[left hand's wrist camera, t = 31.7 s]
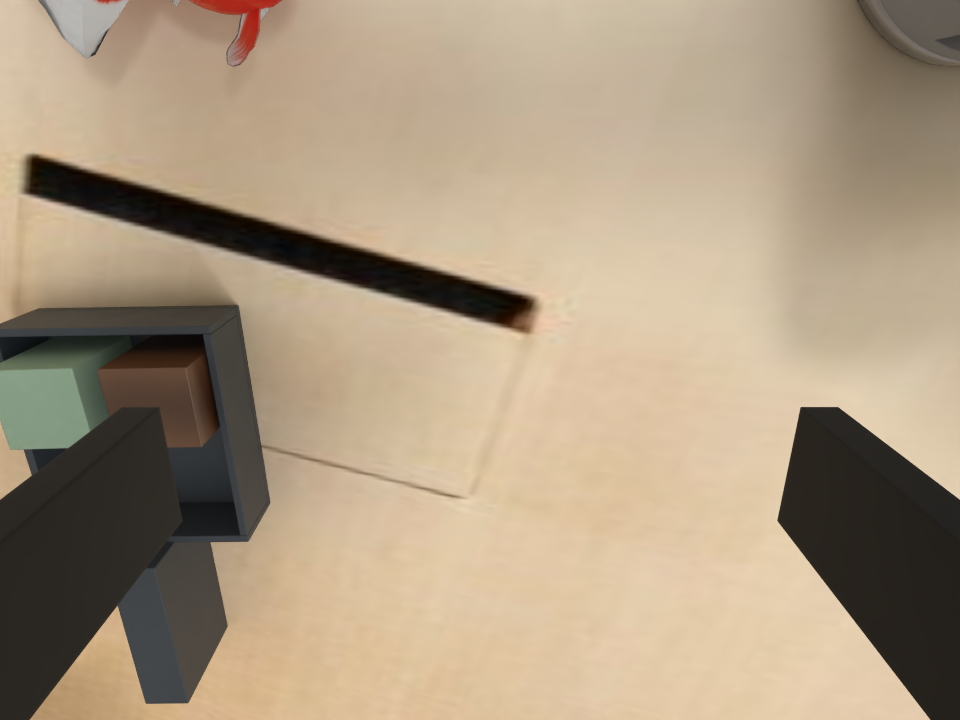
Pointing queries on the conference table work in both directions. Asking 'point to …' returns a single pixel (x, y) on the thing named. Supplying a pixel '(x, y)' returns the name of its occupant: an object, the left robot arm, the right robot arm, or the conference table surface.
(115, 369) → the walnut block
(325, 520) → the conference table surface
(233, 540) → the tote
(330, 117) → the conference table surface
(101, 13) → the red white curved piece
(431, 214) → the conference table surface
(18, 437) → the sage block
